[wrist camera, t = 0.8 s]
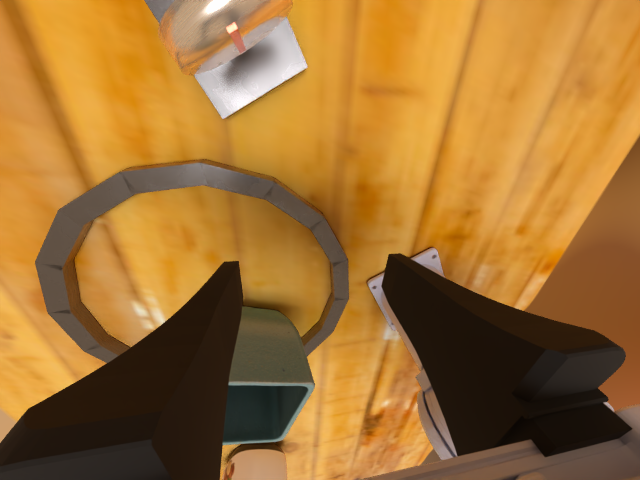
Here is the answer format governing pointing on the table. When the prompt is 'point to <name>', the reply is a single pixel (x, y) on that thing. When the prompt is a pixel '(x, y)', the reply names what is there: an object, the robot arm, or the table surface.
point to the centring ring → (82, 211)
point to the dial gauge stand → (230, 46)
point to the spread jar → (256, 463)
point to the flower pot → (265, 379)
